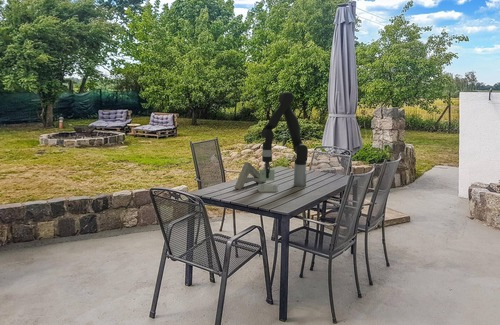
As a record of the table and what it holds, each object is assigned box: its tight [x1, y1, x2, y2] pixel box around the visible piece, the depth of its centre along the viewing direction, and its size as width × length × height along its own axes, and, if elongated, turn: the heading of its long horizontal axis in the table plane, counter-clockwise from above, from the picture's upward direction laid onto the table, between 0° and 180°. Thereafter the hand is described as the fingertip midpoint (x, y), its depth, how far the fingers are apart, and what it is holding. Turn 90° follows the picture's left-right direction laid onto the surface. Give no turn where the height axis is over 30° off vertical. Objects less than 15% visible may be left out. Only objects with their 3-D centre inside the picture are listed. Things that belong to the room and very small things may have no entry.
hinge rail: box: [257, 183, 279, 193], centre depth 284 cm, size 14×8×5 cm, turn 96°
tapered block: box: [259, 168, 276, 182], centre depth 291 cm, size 11×3×8 cm, turn 96°
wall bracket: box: [234, 161, 267, 190], centre depth 300 cm, size 22×4×30 cm
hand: (267, 177), depth 292 cm, fingers closed on tapered block, 2 cm apart
